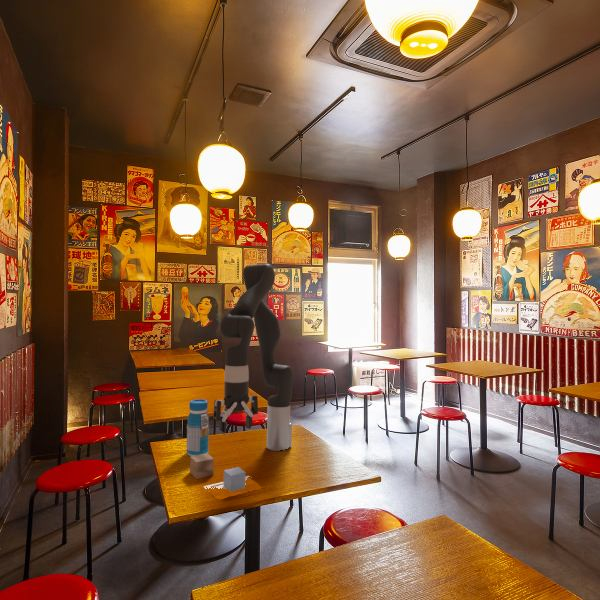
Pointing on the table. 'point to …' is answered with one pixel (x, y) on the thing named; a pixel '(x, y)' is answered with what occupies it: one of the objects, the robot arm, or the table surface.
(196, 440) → the beverage bottle
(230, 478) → the slate cube
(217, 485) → the menu card
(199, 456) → the walnut block
